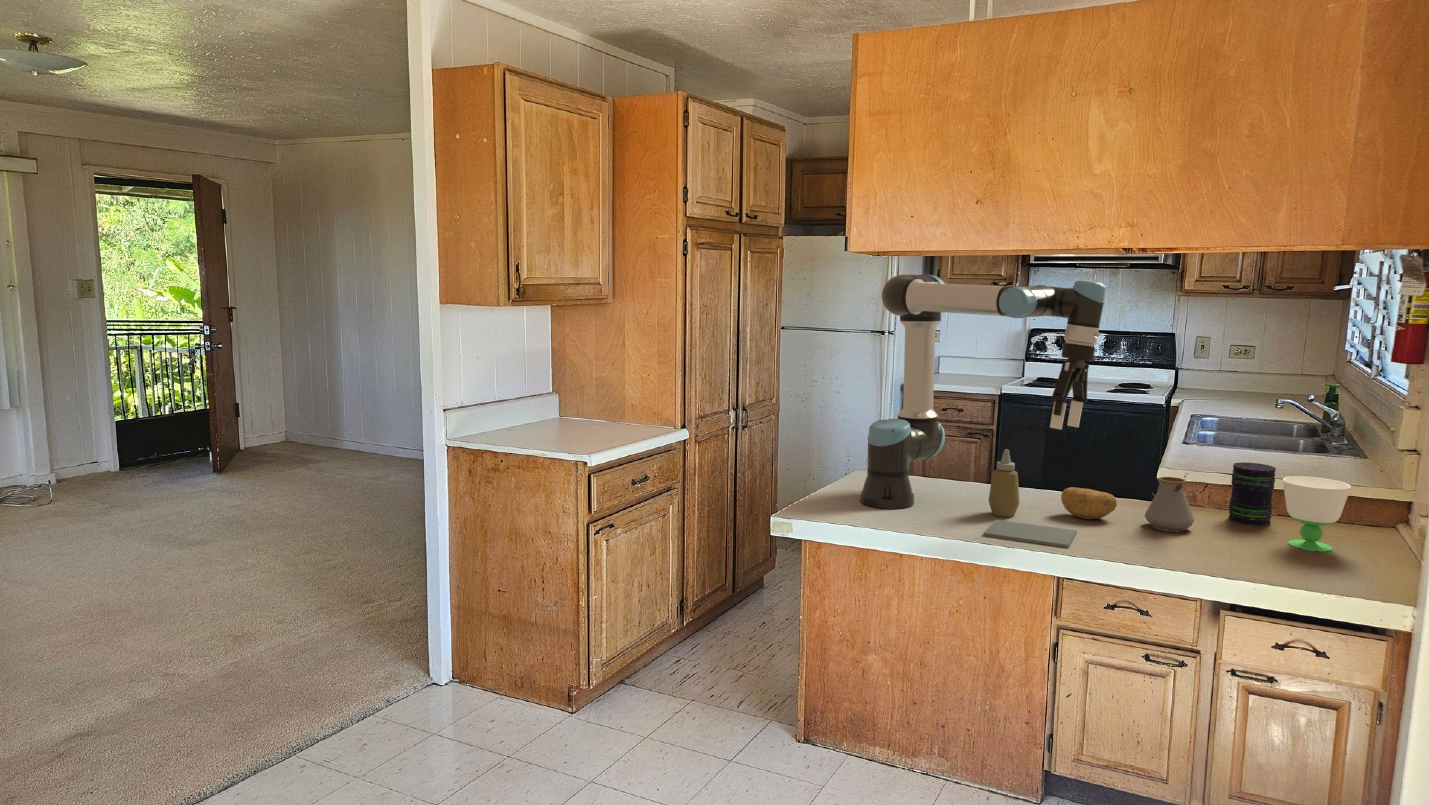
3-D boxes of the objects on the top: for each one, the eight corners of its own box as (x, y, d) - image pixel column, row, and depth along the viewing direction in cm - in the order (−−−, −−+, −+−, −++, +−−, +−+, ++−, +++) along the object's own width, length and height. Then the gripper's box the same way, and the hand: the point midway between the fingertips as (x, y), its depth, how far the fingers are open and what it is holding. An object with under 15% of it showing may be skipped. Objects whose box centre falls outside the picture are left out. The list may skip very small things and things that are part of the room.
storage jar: (1279, 526, 233) (1284, 470, 231) (1241, 526, 233) (1247, 470, 231) (1256, 516, 243) (1261, 462, 240) (1220, 516, 243) (1224, 462, 240)
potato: (1113, 526, 233) (1115, 496, 231) (1056, 518, 240) (1058, 489, 239) (1118, 517, 241) (1120, 488, 240) (1063, 510, 248) (1065, 482, 247)
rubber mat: (983, 535, 224) (983, 532, 224) (995, 522, 236) (996, 519, 236) (1068, 548, 214) (1068, 544, 214) (1076, 533, 226) (1076, 530, 226)
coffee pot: (1142, 520, 239) (1146, 465, 237) (1190, 524, 235) (1195, 468, 232) (1149, 542, 219) (1153, 482, 217) (1202, 547, 215) (1207, 486, 213)
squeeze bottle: (981, 514, 244) (985, 449, 241) (997, 509, 249) (1001, 445, 247) (1008, 520, 238) (1012, 454, 235) (1024, 515, 243) (1028, 450, 241)
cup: (1293, 553, 210) (1300, 488, 208) (1266, 536, 224) (1272, 475, 221) (1356, 556, 208) (1364, 490, 206) (1325, 539, 222) (1331, 477, 219)
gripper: (1079, 344, 210) (1063, 432, 213) (1109, 347, 230) (1094, 428, 232) (1048, 339, 215) (1032, 426, 217) (1079, 343, 234) (1065, 422, 237)
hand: (1064, 427), depth 225 cm, fingers open, 13 cm apart
